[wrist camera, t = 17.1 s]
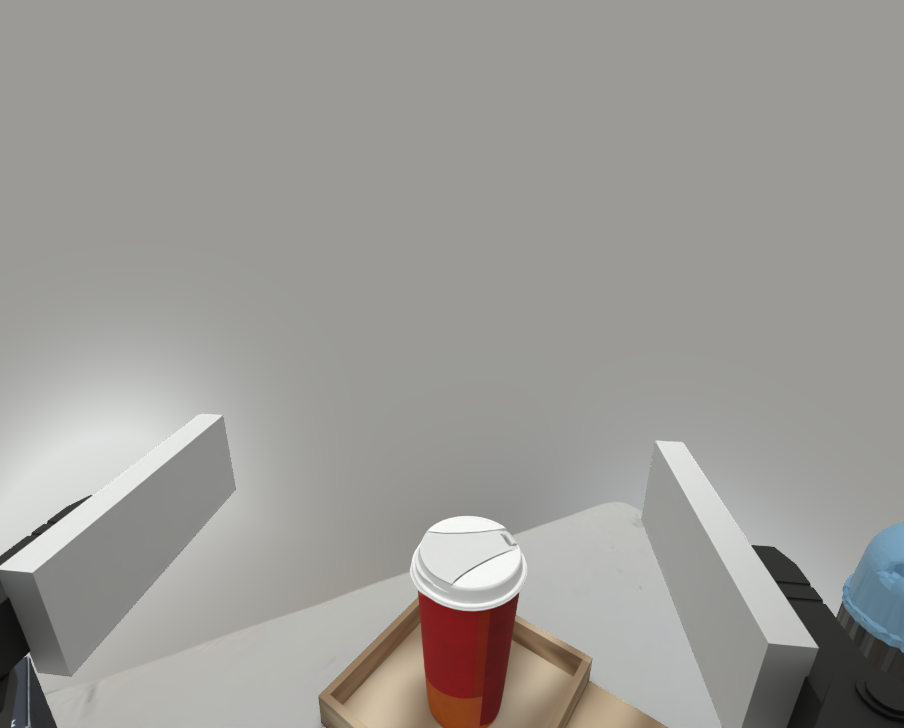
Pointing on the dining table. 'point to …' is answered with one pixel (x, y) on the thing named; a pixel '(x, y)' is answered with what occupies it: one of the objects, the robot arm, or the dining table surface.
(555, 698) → the box
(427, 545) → the coffee cup
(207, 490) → the robot arm
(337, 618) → the dining table surface
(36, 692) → the small box
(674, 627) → the dining table surface
